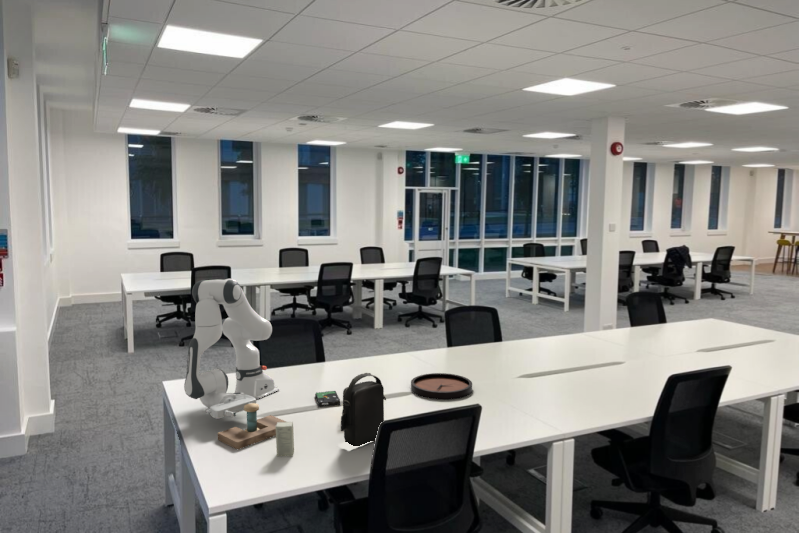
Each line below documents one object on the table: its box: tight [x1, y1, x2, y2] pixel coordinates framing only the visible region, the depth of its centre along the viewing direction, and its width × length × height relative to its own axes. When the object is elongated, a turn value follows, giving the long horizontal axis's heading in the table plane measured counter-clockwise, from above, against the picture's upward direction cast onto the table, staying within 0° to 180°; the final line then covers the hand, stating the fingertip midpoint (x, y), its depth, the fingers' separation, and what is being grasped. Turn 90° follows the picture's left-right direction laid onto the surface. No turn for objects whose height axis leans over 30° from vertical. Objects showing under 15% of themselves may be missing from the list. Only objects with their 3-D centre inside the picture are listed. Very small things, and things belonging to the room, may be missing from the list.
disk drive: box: [314, 390, 341, 408], centre depth 284 cm, size 10×3×15 cm
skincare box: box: [275, 421, 295, 457], centre depth 224 cm, size 6×4×12 cm
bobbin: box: [243, 402, 260, 433], centre depth 243 cm, size 6×6×12 cm
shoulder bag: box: [340, 372, 387, 446], centre depth 236 cm, size 23×9×28 cm, turn 134°
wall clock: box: [410, 372, 473, 401], centre depth 301 cm, size 31×4×31 cm
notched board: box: [217, 414, 287, 450], centre depth 242 cm, size 26×14×3 cm, turn 139°
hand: (243, 411), depth 247 cm, fingers open, 8 cm apart
